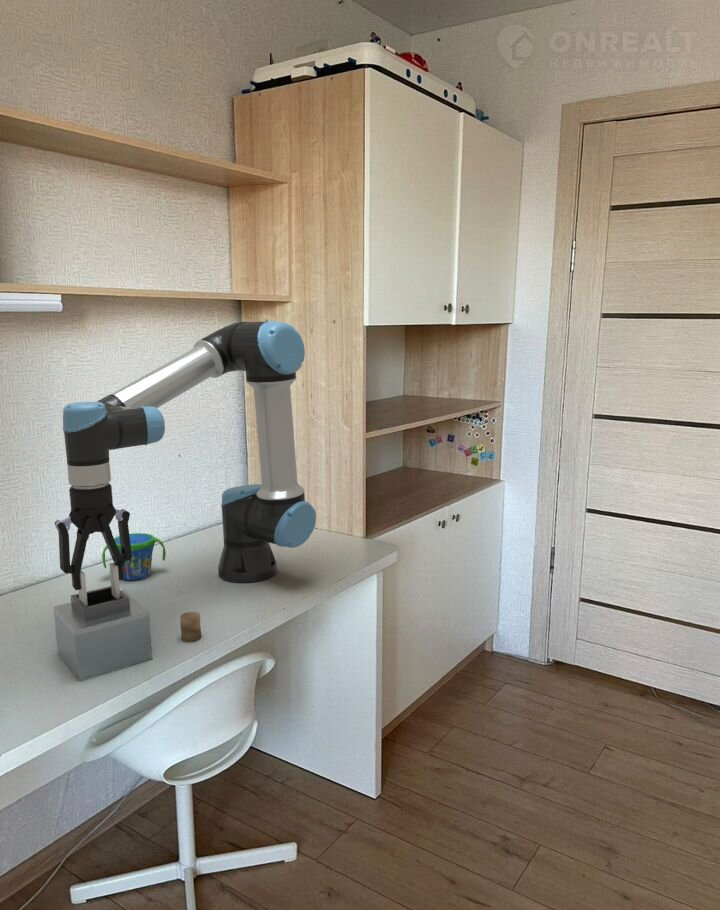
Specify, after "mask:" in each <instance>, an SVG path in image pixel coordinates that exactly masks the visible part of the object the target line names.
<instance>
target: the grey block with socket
mask: <svg viewBox="0 0 720 910" xmlns="http://www.w3.org/2000/svg"><path fill="white" fill-rule="evenodd" d="M86 592H87V603H88V606H86V605H85V604H84V603H83V602H82V601H81V600H80V599H79V593H75V594H72V595H70V602H67V603H63V604H59V605H55V606H53V614H54V615H53V616H54V625H55V634H56V644H57V654H58V656H59V657H60V656H61V657H60V659H62V661H63V660H64V661H63V662H64V664H65V665H66V666H67V668H68V669H69V670H70V671H71V673H72V674H73V675H74V677H75V678H76V679H77V681H79V682H81V681H84V680H88V679H91V678H94V677H98V676H100V675H104V673H105V674H108V673H111V672H113V670H114V671H116V670H117V669H118V670H121V669H124V668H127V667H126V666H128V667H130V666H134V665H137V664H136V663H138V664H141V663H143V661H144V662H147V661H150V659H151V660H153V649H152V637H151V633H152V632H151V622H150V621H151V620H150V611H149V609H147V608H146V607H145V606H144V605H142V604H141V603H140V602H139V601H138V600H137V599H135V598H134V597H133V596H132V595H130V594H129V593H128V592H127V591H126V590H125V589H120V598H118V599H116V598H115V597H114V596H113V595H112V590H111V585H109V586H106V587H101V588H97V589H93V590H88V591H86ZM140 662H141V663H140ZM129 665H130V666H129ZM123 667H124V668H123ZM120 668H121V669H120Z"/></svg>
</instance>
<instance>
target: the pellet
mask: <svg viewBox="0 0 720 910" xmlns="http://www.w3.org/2000/svg"><path fill="white" fill-rule="evenodd" d="M179 620H180V634H181V635H180V637H181V641H182V642H184V643H196V642H197V641H200V640H201V639H202V629H201V627H202V626H201V614H200V612H197V611H186V612H184V613H182V614H180V616H179Z"/></svg>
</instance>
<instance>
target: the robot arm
mask: <svg viewBox="0 0 720 910" xmlns="http://www.w3.org/2000/svg"><path fill="white" fill-rule="evenodd" d="M305 355H306V348H305V343H304V341H303V338H302V336H301V334H300V333H299V332H298V330H297V329H296V328H295V327H294V326H293V325H291V324H289V323H287V322H283V321H275V320H266V321H238V322H234V323H233V322H232V323H230V324H229V325H225V326H224V327H222V328H220V329H217V330H216V331H214V332H212V333H210V334H209V335H206V336H204V337H203V338H201V339H199V340H197V341H196V342H195V343H194V345H193V348H192V349H190V350H189V351H187V352H185V353H183V354H181V355H179V356H178V357H176V358H174V359H172V360H170V361H168V362H167V363H165V364H163V365H161V366H159V367H157V368H155V369H154V370H152V371H150V372H149V373H146V374H145V375H143V376H141V377H140V378H137V379H136V380H134V381H132V382H130V383H128V384H127V385H124V386H123V387H122V388H119V389H118V390H116V391H114V392H113V393H110V394H108V395H107V396H104V397H102V398H100V399H99V400H97V401H84V402H83V401H81V402H72V403H68V404H67V405H65V406H64V407H63V410H62V424H63V425H62V432H63V436H64V437H63V438H64V444H65V456H66V465H67V478H68V479H67V480H68V485H70V487H69V493H68V494H69V500H70V512H69V515H68V517H66V518H63V519H62V520H59V519H57V520H55V522H54V525H55V528H56V530H57V533H58V546H59V547H58V548H59V549H58V551H59V568H60V570H61V571H62V572H63V573H64V574H71V583H72V584H71V585H72V588H73V589H74V590H75V591H78V594H79V599H80V600H81V601H82V602H83V603H84V604H85V605H86V606H88V603H87V592H88V591H87V581H86V574H85V572H83V570H82V565H83V562H84V557H85V551H86V547H87V543H88V540H89V539H90V538H89V537H90V535H92V534H95V533H101V535H102V537H103V540H104V541H105V544H106V545H107V547H108V549H107V550H108V551H109V554H110V557H111V559H112V561H113V562H110V563H109V574H110V575H109V577H110V586H111V590H112V595H113V596H114V597H115V598H116V599H118V598H120V591H121V589H120V581H123V580H124V579H123V577H124V576H123V565H124V564H125V561H127V560H131V558H132V552H131V544H130V536H129V534H130V528H129V520H130V516H131V513H130V512H129V511H128V510H126V509H124V508H122V509H116V507H115V506H114V503H113V502H114V501H113V489H112V484H111V481H112V476H111V475H112V473H111V465H110V451H113V450H114V451H115V450H118V449H119V450H120V449H124V448H125V449H126V448H131V447H138V446H139V447H140V446H147V445H150V444H154V443H158V442H160V441H161V440H163V437H164V435H165V431H166V425H165V423H166V421H165V418H164V415H163V414H162V412H161V410H159V409H158V408H160V407H163V406H164V405H165V404H167V403H168V402H170V401H172V400H174V399H175V398H177V397H179V396H180V395H182V394H184V393H185V392H187V391H189V390H190V389H193V388H194V387H195V386H197V385H199V384H201V383H202V382H204V381H206V380H208V379H210V378H214V379H217V378H219V377H222V376H223V375H225V374H228V373H232V372H239V371H240V372H241V371H244V372H245V379H246V382H245V383H247V384H248V385H249V386H250V387H252V389H253V397H254V408H255V409H254V410H255V419H256V420H255V422H256V432H257V442H258V453H259V465H260V475H261V476H260V477H261V483H260V484H259V483H255V484H245V485H240V486H233V487H230V488H228V489H225V490H224V491H223V492H222V494H221V505H220V506H221V518H222V521H221V522H222V531H223V532H222V533H223V547H222V550H221V551H222V552H221V555H220V558H219V563H218V566H217V572H218V577H219V578H220V579H222V580H224V581H227V582H230V583H231V582H232V583H253V582H254V583H255V582H259V581H264V580H267V579H269V578H271V577H273V576H275V575H276V574H277V571H278V567H277V565H278V564H277V561H276V558H275V555H274V552H273V550H272V547H271V545H270V544H274V545H277V546H279V547H281V548H284V547H286V548H289V549H291V548H293V549H295V548H297V547H300V546H302V545H303V544H304V543H306V542H307V541H308V540H309V538H310V537H311V535H312V533H313V532H314V530H315V527H316V524H317V523H316V522H317V514H316V510H315V507H314V506H313V505H312V504H311V503H310V502H309V501H307V500H306V496H305V488H304V487H303V486H301V485H300V484H299V483H298V471H297V470H298V469H297V461H296V460H297V458H296V457H297V456H296V446H295V445H296V444H295V443H296V442H295V433H294V432H295V431H294V418H293V405H292V390H291V386H292V384H294V382H295V381H296V379H297V372H298V371H299V370H300V369H301V367H302V365H303V364H302V363H304V361H305V357H306V356H305ZM114 517H115V520H117V529H118V536H119V537H120V545H121V553H122V554H121V555H120V552H119V550H118V547H117V545H116V542H115V540H114V538H115V536H113V532H112V529H111V526H110V525H111V523H112V522H113V521H112V520H113V519H114ZM71 524H73V525H74V526H75V527H76V528H77V532H76V539H75V542H74V543H75V544H74V549H73V554H72V559H71V556H70V555H71V553H70V551H71V550H70V535H69V531H70V529H71Z"/></svg>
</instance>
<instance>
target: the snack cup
mask: <svg viewBox="0 0 720 910" xmlns="http://www.w3.org/2000/svg"><path fill="white" fill-rule="evenodd" d="M129 536H130V544H131V552H132V558H131V560H127V561H125V564H124V565H123V576H124V577H123V580H126V581H136V580H140V579H146V578H147V577H149V575H150V574H151V572H152V563H153V561H152V560H153V552H154V551H153V550H154V547H155V544H156V543H159V544H160V546H161V547H162V561H163V562H164V561H166V557H167V556H166V554H167V553H166V548H165V544H164V543H163V542H162V541H161V540H160V539H159V538H157V537H155V536H154V535H152V534H149V533H144V532H143V533H142V532H138V533H137V532H136V533H135V532H133V533H129ZM114 540H115V542H116V545H117V547H118V550H119V552H120V555H121V554H122V553H121V545H120V537H119V535H118V536H116V537H114ZM107 550H109V549H108V547H107V544H106V545H105V546H104V548H103V550H102V554H101V558H102V564H103V567H104V568H105V569H107V564H106V551H107Z"/></svg>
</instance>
